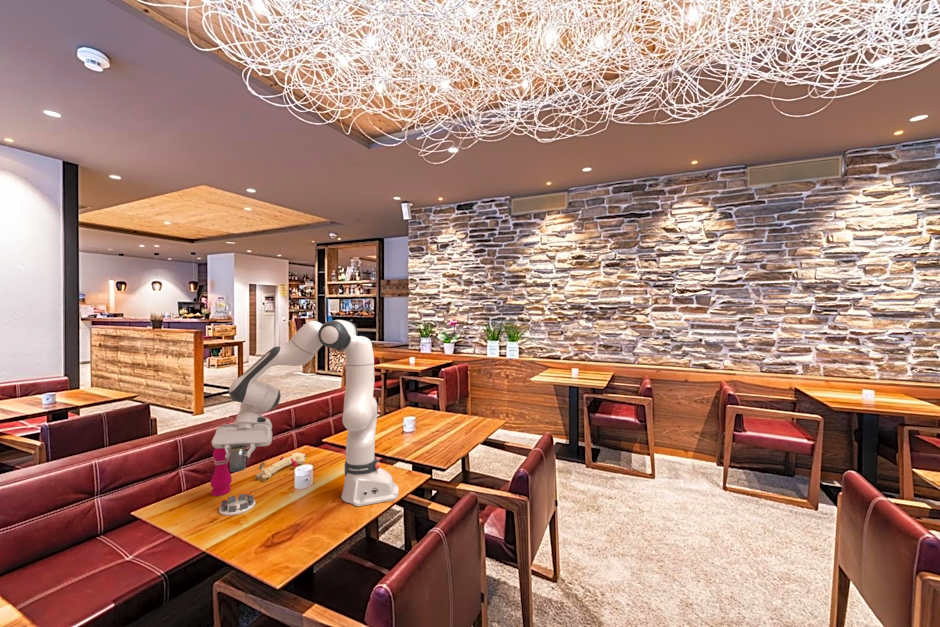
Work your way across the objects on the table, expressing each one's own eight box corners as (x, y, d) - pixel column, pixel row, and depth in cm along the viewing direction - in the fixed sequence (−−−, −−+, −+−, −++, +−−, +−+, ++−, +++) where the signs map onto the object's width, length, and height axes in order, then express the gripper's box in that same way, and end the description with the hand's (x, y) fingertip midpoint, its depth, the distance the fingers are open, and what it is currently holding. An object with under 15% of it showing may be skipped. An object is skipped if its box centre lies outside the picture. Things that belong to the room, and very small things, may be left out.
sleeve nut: (247, 466, 146) (247, 445, 146) (242, 471, 141) (242, 449, 141) (233, 467, 145) (233, 445, 145) (227, 472, 140) (227, 450, 140)
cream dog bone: (268, 486, 164) (312, 460, 187) (267, 466, 164) (311, 443, 187) (251, 481, 168) (296, 457, 191) (250, 462, 167) (296, 440, 191)
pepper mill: (221, 497, 151) (221, 446, 151) (205, 495, 152) (206, 445, 152) (236, 489, 158) (236, 440, 158) (221, 487, 159) (221, 439, 159)
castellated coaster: (259, 498, 150) (259, 491, 150) (248, 513, 139) (249, 506, 139) (226, 501, 148) (227, 494, 148) (213, 516, 137) (213, 509, 137)
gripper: (215, 420, 148) (203, 455, 139) (273, 418, 152) (264, 452, 143) (220, 428, 152) (208, 462, 143) (276, 426, 157) (268, 459, 147)
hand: (237, 457), depth 143 cm, fingers closed on sleeve nut, 5 cm apart
